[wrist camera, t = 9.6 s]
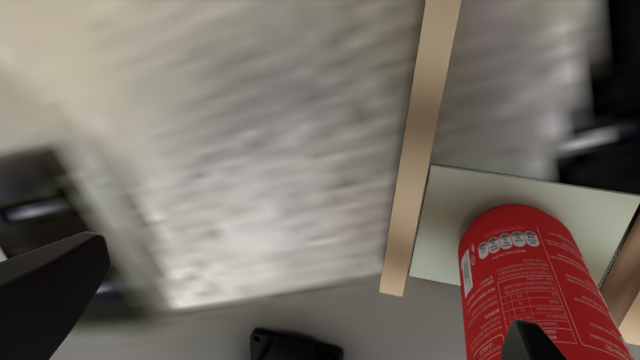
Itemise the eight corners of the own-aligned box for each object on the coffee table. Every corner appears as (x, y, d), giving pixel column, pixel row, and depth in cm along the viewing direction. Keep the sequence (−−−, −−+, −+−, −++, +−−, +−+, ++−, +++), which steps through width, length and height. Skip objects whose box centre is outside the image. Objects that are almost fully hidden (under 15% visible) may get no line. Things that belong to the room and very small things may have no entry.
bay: (615, 313, 22) (649, 380, 18) (382, 268, 24) (374, 320, 20) (879, -161, 12) (1052, -205, 9) (452, -164, 14) (458, -201, 11)
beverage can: (574, 194, 19) (739, 473, 9) (564, 281, 21) (686, 586, 11) (455, 197, 21) (478, 440, 10) (457, 279, 23) (479, 545, 12)
